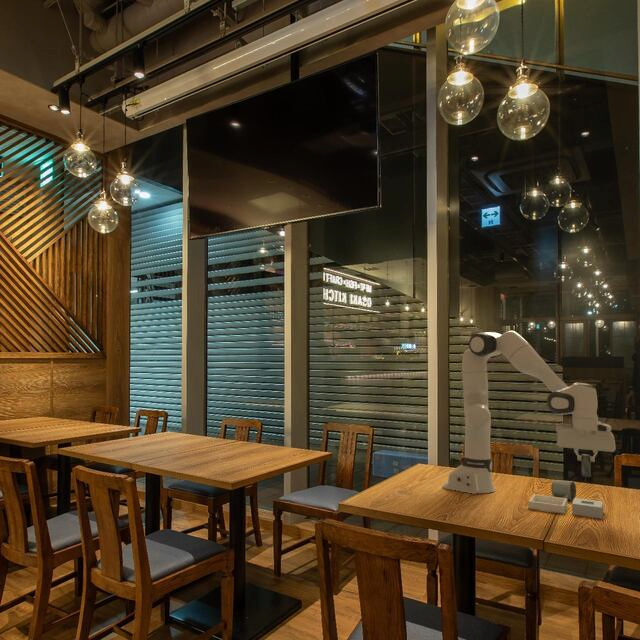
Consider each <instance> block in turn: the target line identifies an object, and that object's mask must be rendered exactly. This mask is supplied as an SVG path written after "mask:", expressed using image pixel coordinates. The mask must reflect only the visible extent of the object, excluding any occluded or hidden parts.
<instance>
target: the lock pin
mask: <svg viewBox="0 0 640 640" xmlns="http://www.w3.org/2000/svg"><path fill="white" fill-rule="evenodd" d="M581 456H582V461H581V476H582V477H585V478H591V477H592V474H591V472H592V471H591V462H590V457H591V454H585V453H582V454H581Z"/></svg>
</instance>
